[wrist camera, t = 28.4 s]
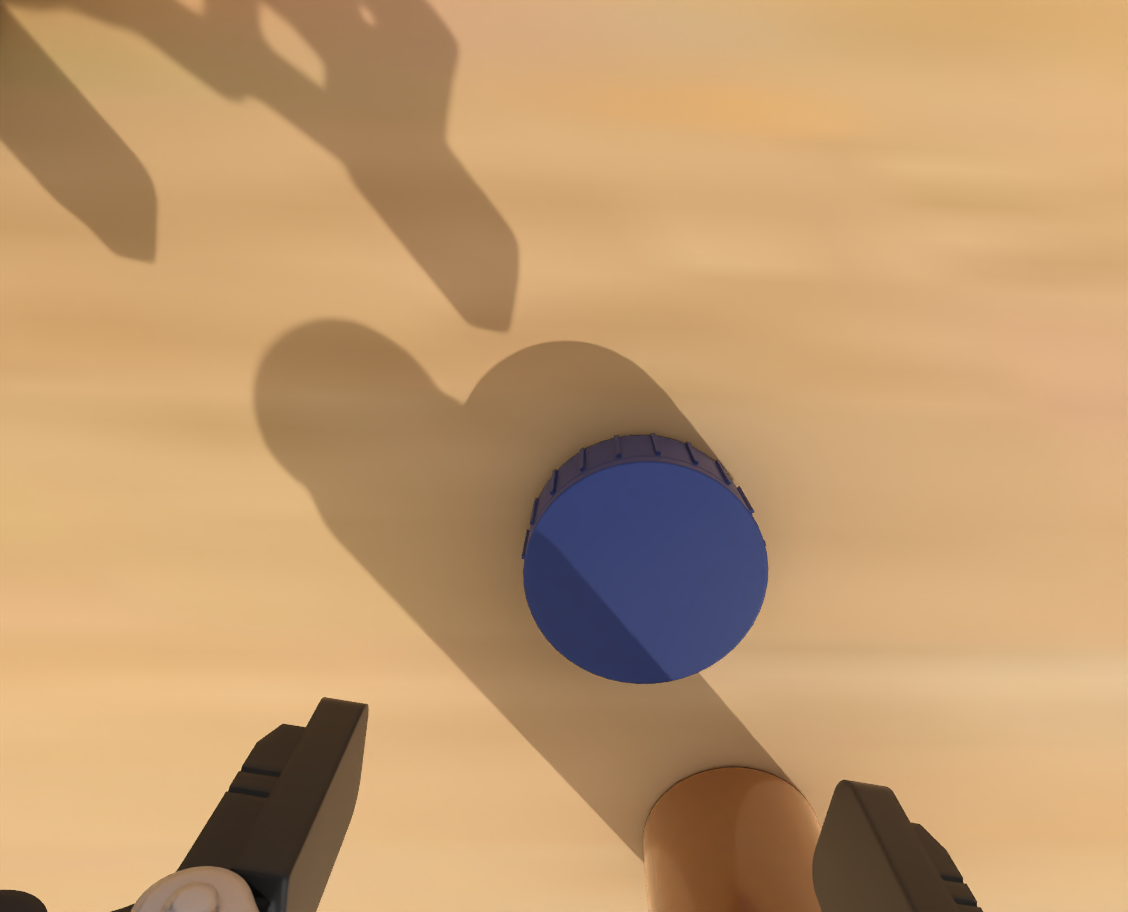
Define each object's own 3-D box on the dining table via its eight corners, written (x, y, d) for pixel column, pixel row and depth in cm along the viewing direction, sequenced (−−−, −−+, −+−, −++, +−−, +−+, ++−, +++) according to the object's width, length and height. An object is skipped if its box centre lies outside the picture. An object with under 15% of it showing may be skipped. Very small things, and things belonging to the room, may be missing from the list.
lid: (796, 507, 20) (822, 543, 18) (668, 673, 21) (677, 725, 19) (606, 389, 19) (608, 410, 17) (487, 569, 21) (475, 611, 18)
